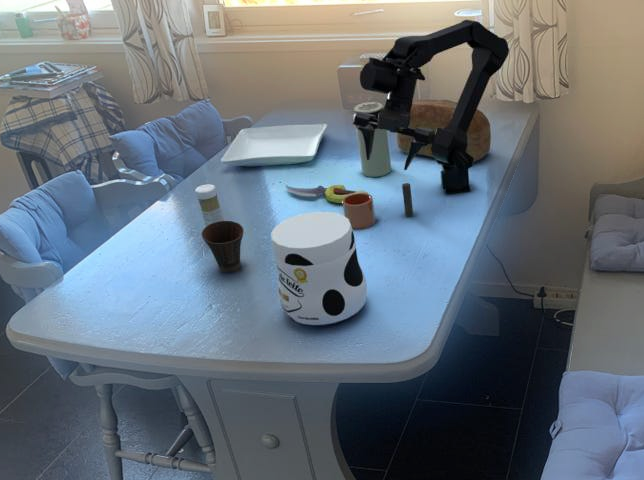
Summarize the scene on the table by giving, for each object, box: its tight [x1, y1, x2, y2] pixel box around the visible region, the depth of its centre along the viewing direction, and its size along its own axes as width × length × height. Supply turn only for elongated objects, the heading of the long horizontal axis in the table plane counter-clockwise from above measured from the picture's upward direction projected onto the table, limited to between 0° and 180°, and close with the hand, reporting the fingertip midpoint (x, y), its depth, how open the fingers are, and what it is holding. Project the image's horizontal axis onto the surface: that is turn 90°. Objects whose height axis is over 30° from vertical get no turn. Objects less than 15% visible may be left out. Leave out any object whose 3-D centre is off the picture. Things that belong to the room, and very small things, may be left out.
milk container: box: [270, 211, 368, 328], centre depth 148 cm, size 17×17×18 cm
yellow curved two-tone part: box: [285, 184, 369, 204], centre depth 197 cm, size 8×3×25 cm
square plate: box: [220, 123, 329, 168], centre depth 225 cm, size 27×27×4 cm
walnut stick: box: [401, 182, 414, 218], centre depth 183 cm, size 2×2×8 cm
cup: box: [201, 220, 245, 274], centre depth 166 cm, size 9×9×10 cm
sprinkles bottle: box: [194, 183, 225, 227], centre depth 178 cm, size 5×5×13 cm
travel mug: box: [353, 101, 392, 178], centre depth 204 cm, size 8×8×18 cm
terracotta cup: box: [341, 193, 376, 230], centre depth 183 cm, size 7×7×6 cm
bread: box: [396, 99, 492, 163], centre depth 212 cm, size 12×28×14 cm, turn 59°
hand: (386, 165), depth 179 cm, fingers open, 9 cm apart
